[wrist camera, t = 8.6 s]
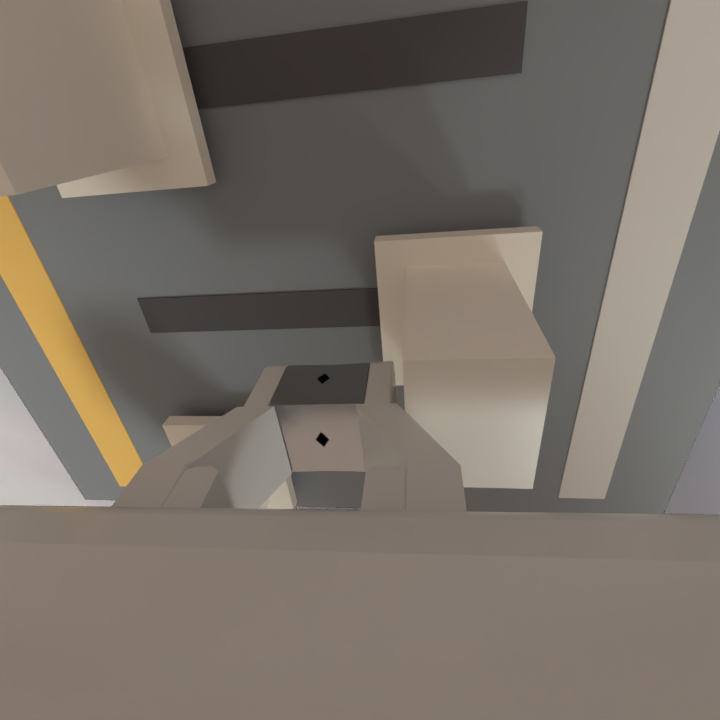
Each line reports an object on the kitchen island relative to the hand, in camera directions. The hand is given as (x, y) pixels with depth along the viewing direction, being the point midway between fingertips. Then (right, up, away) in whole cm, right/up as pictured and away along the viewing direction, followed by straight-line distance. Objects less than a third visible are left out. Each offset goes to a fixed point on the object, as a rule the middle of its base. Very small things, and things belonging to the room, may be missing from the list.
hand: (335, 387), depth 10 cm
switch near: (-5, +7, 0) cm, 9 cm away
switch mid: (+3, +2, +2) cm, 4 cm away
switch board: (-1, +3, +4) cm, 6 cm away
